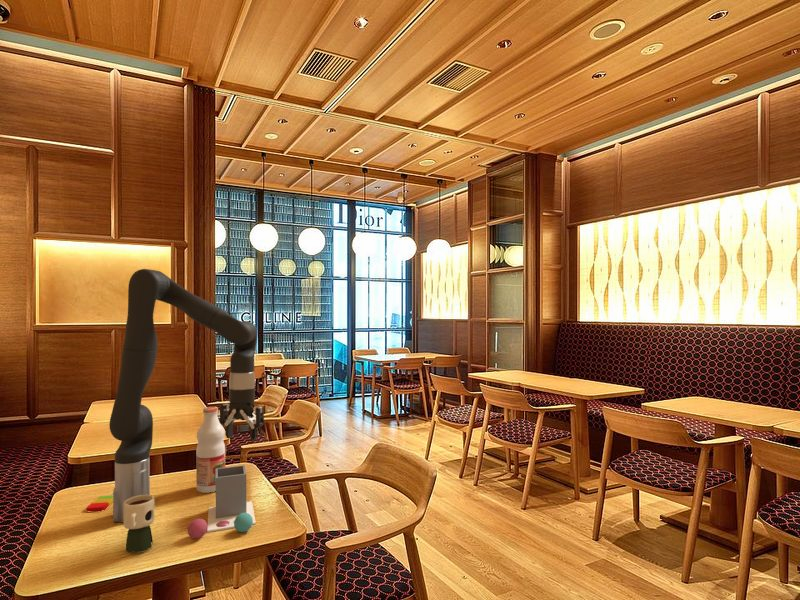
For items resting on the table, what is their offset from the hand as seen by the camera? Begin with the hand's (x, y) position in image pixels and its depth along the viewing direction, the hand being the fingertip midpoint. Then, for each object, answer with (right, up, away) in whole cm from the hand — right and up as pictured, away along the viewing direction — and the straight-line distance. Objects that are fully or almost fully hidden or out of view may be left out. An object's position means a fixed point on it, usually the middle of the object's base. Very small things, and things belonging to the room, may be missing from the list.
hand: (241, 439), depth 144 cm
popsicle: (-47, -24, +9) cm, 54 cm away
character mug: (-20, -23, -21) cm, 37 cm away
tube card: (-2, -23, -2) cm, 23 cm away
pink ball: (-7, -20, -15) cm, 26 cm away
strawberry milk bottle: (-17, -23, +20) cm, 35 cm away
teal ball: (+4, -20, -12) cm, 24 cm away
